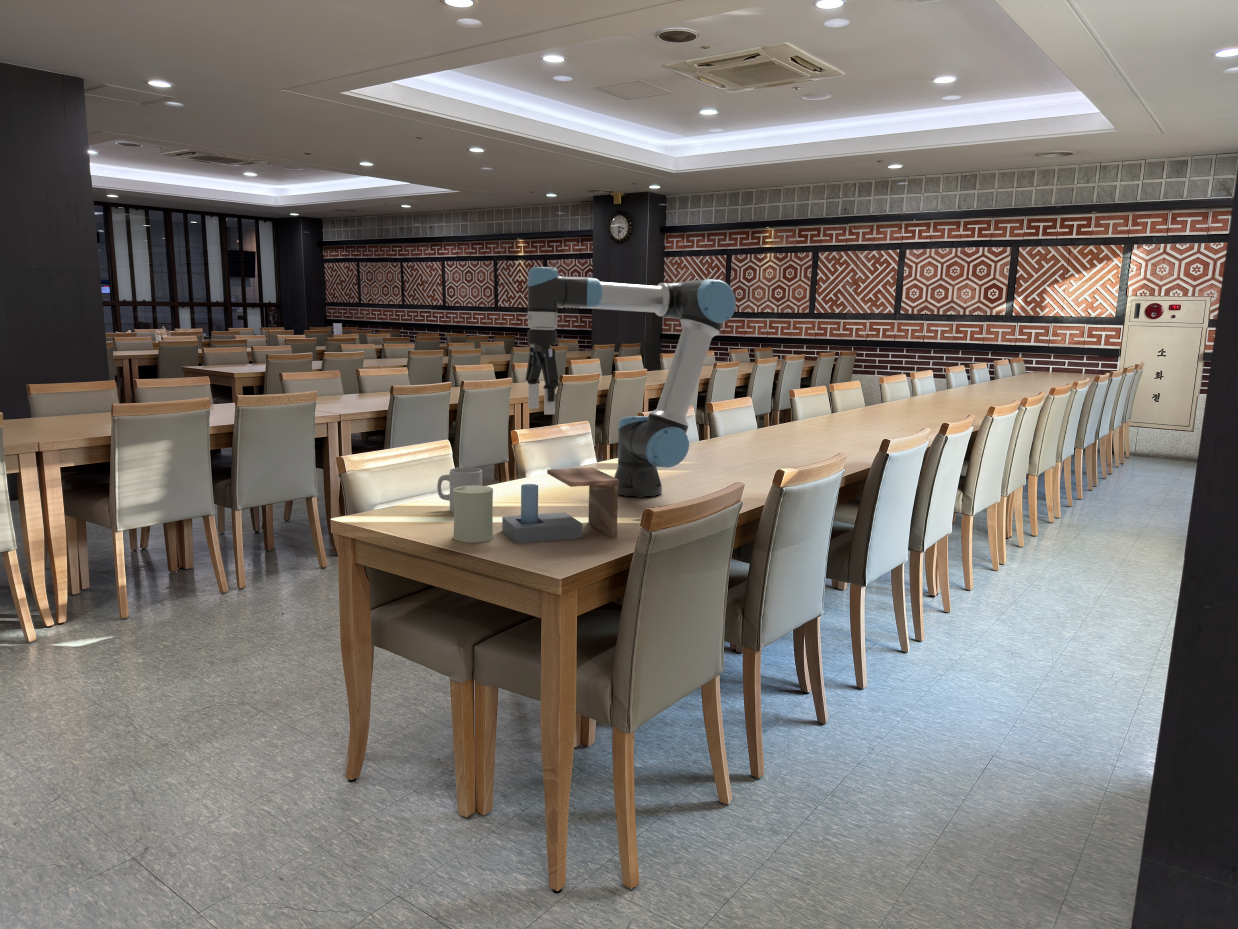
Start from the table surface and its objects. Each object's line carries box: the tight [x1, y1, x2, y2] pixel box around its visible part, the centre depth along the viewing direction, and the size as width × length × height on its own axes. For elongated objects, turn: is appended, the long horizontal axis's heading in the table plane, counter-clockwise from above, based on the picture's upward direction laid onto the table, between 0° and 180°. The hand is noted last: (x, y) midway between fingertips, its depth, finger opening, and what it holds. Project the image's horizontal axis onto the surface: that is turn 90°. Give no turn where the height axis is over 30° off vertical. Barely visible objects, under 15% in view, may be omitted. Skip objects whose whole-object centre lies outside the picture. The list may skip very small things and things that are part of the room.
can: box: [452, 485, 494, 544], centre depth 191 cm, size 9×9×12 cm
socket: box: [501, 511, 583, 544], centre depth 197 cm, size 16×12×4 cm
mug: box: [436, 466, 483, 514], centre depth 218 cm, size 12×8×11 cm
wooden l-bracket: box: [546, 467, 619, 539], centre depth 200 cm, size 12×17×14 cm
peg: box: [520, 483, 539, 525], centre depth 195 cm, size 4×4×12 cm
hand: (541, 411), depth 216 cm, fingers open, 13 cm apart
